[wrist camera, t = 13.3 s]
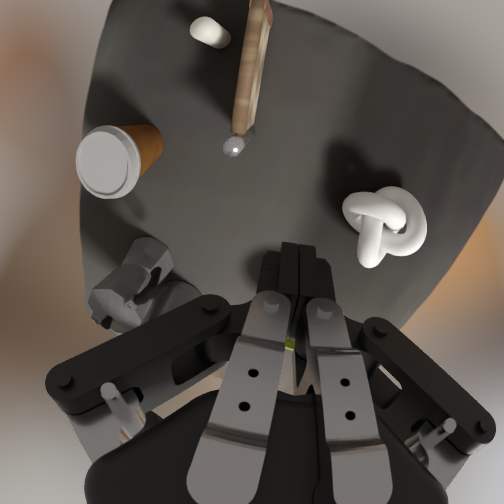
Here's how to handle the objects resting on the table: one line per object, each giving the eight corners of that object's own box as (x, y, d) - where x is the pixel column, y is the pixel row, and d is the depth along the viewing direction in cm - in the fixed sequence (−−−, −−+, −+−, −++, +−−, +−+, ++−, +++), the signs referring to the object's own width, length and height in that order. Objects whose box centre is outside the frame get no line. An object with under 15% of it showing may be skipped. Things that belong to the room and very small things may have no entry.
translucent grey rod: (256, 137, 38) (241, 156, 28) (243, 138, 38) (224, 157, 28) (254, 124, 37) (240, 138, 27) (241, 125, 37) (222, 140, 27)
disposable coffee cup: (166, 107, 37) (123, 117, 27) (179, 167, 41) (143, 196, 31) (114, 122, 38) (65, 139, 28) (127, 177, 43) (85, 207, 33)
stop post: (231, 47, 31) (217, 37, 24) (210, 50, 32) (191, 42, 25) (230, 27, 30) (215, 14, 23) (208, 31, 30) (188, 19, 23)
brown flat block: (255, 124, 36) (244, 134, 28) (243, 122, 36) (228, 132, 28) (273, 16, 28) (267, -5, 19) (260, 15, 28) (250, -7, 20)
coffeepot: (144, 287, 55) (104, 354, 40) (115, 252, 52) (63, 313, 37) (202, 258, 50) (165, 335, 35) (169, 215, 46) (115, 281, 31)
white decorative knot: (403, 162, 36) (427, 182, 29) (418, 231, 41) (439, 261, 34) (333, 186, 40) (342, 211, 32) (356, 252, 45) (366, 287, 38)
